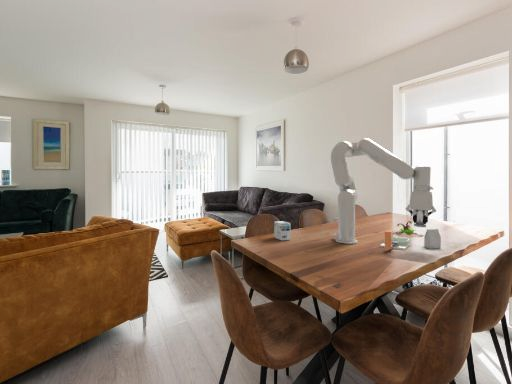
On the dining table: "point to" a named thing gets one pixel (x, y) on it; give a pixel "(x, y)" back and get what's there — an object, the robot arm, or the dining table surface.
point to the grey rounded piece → (420, 218)
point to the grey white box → (432, 239)
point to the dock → (399, 243)
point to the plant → (407, 231)
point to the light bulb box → (282, 230)
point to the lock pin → (389, 240)
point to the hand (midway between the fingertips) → (420, 223)
